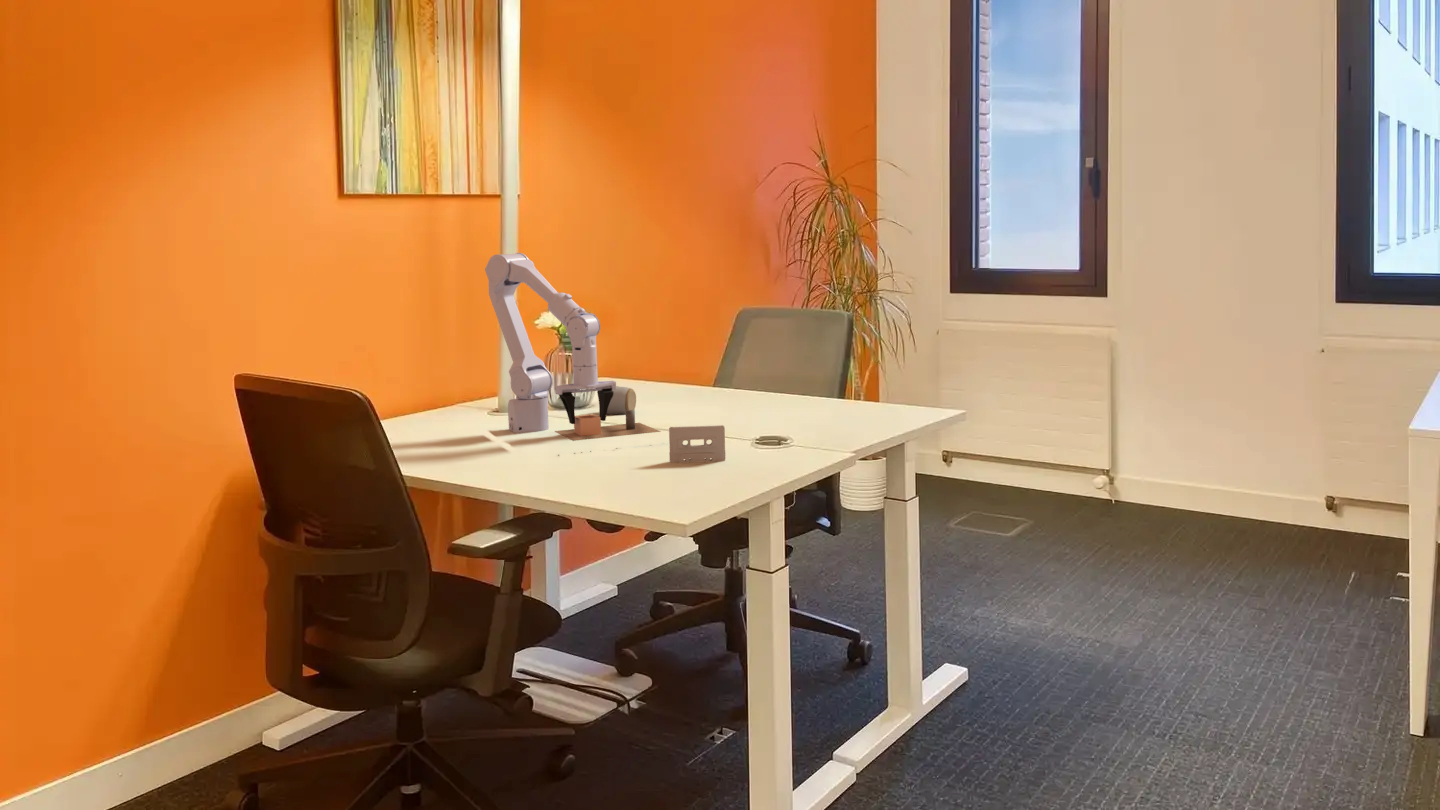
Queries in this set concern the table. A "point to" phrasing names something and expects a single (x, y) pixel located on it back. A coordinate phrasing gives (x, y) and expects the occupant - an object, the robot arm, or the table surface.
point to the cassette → (697, 451)
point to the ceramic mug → (622, 401)
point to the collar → (587, 425)
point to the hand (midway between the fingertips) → (587, 421)
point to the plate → (613, 429)
